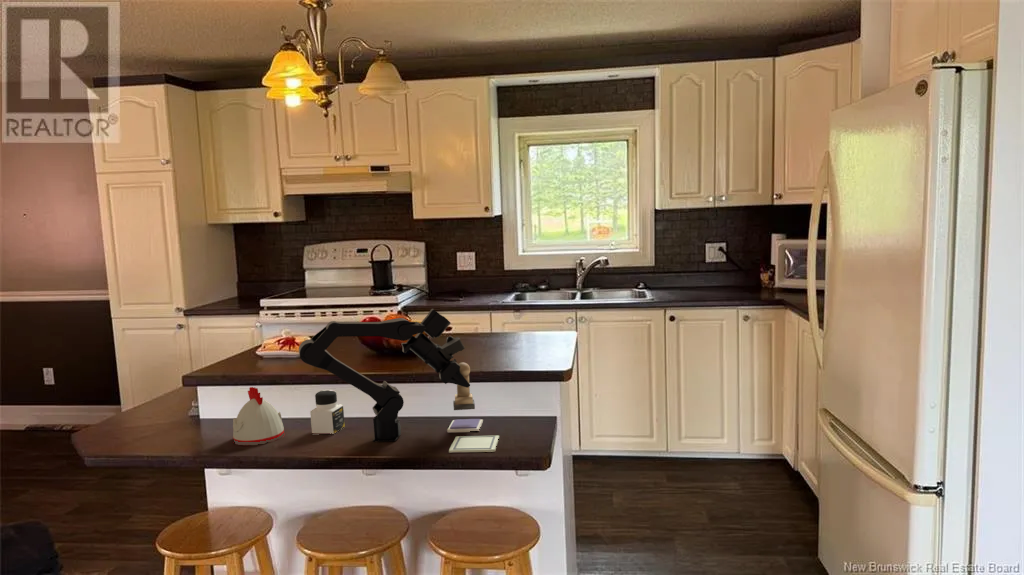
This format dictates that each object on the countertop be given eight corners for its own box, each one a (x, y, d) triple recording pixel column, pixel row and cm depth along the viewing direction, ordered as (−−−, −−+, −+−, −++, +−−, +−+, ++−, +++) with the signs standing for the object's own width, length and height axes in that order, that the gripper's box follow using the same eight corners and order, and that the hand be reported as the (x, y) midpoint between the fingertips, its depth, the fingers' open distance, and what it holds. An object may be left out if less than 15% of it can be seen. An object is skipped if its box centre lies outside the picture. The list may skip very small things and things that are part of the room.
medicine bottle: (334, 435, 188) (330, 394, 187) (311, 434, 189) (308, 394, 188) (345, 427, 195) (342, 388, 194) (323, 427, 196) (320, 388, 195)
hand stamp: (453, 410, 185) (452, 364, 184) (453, 405, 190) (451, 361, 189) (474, 409, 186) (473, 363, 185) (473, 404, 191) (472, 360, 190)
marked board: (448, 452, 168) (448, 449, 168) (456, 438, 179) (456, 436, 179) (494, 451, 167) (494, 449, 167) (499, 437, 178) (499, 435, 178)
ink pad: (447, 432, 185) (447, 428, 185) (453, 422, 194) (452, 418, 194) (478, 431, 184) (478, 427, 184) (482, 422, 193) (482, 418, 193)
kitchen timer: (272, 427, 199) (267, 379, 197) (292, 436, 189) (288, 386, 187) (225, 439, 189) (221, 389, 188) (245, 449, 179) (240, 396, 178)
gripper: (450, 334, 176) (492, 370, 179) (442, 324, 194) (481, 357, 198) (423, 365, 175) (465, 401, 178) (418, 353, 193) (456, 385, 197)
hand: (468, 384), depth 188 cm, fingers closed on hand stamp, 4 cm apart
